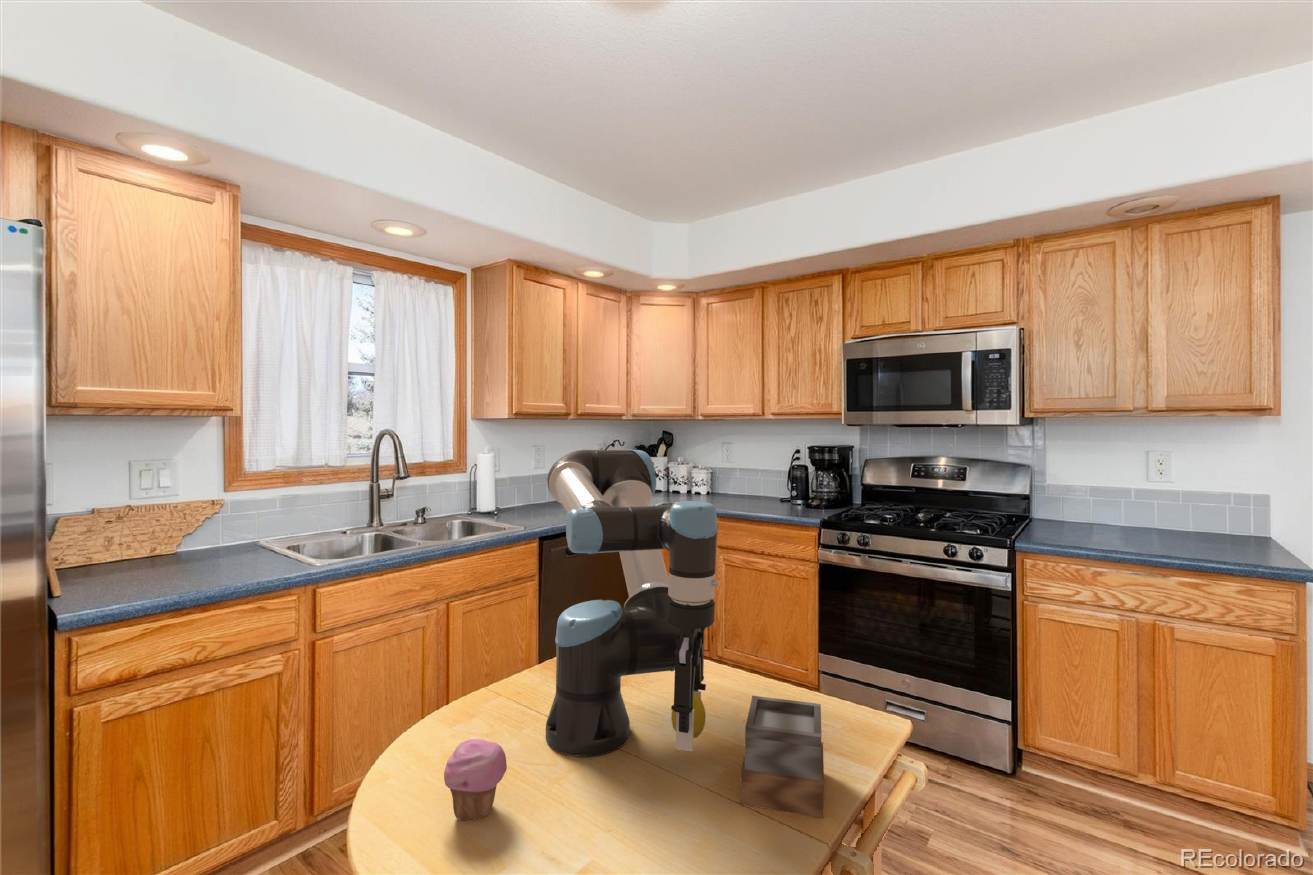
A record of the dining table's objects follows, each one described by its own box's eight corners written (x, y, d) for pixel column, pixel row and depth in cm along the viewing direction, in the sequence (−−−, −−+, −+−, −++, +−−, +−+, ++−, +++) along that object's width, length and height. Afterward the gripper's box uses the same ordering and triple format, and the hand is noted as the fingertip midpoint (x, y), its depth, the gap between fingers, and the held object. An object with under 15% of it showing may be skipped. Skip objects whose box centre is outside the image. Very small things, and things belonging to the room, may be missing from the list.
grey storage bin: (740, 804, 93) (741, 728, 93) (748, 761, 104) (749, 694, 104) (823, 817, 90) (825, 739, 90) (822, 772, 102) (823, 702, 101)
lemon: (694, 753, 97) (696, 703, 97) (664, 743, 100) (665, 694, 100) (710, 738, 102) (712, 690, 102) (681, 728, 105) (682, 682, 105)
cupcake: (452, 794, 94) (453, 729, 94) (510, 792, 95) (511, 727, 95) (436, 833, 85) (436, 761, 85) (500, 830, 86) (500, 759, 86)
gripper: (704, 619, 90) (701, 775, 91) (722, 584, 108) (719, 715, 109) (654, 614, 92) (651, 766, 93) (680, 581, 110) (677, 709, 111)
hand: (688, 738), depth 101 cm, fingers closed on lemon, 5 cm apart
